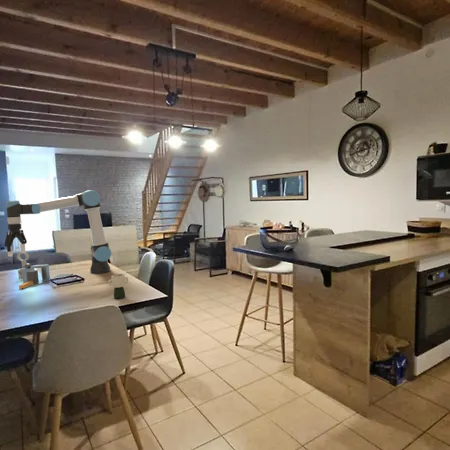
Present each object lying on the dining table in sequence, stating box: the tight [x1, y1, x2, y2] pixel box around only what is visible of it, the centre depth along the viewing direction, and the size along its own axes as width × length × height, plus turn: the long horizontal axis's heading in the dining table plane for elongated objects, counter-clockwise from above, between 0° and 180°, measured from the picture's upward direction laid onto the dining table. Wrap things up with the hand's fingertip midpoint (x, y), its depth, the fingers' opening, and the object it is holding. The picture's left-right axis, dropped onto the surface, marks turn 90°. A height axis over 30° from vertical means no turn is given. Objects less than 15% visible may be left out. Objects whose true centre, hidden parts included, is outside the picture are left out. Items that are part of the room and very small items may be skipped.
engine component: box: [16, 251, 30, 279], centre depth 251 cm, size 11×20×10 cm
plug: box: [18, 269, 39, 290], centre depth 222 cm, size 17×5×9 cm, turn 3°
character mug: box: [107, 273, 129, 299], centre depth 182 cm, size 11×7×13 cm, turn 121°
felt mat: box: [53, 273, 73, 278], centre depth 246 cm, size 10×15×1 cm, turn 2°
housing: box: [21, 263, 51, 283], centre depth 235 cm, size 17×4×13 cm, turn 92°
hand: (17, 254), depth 219 cm, fingers open, 13 cm apart
